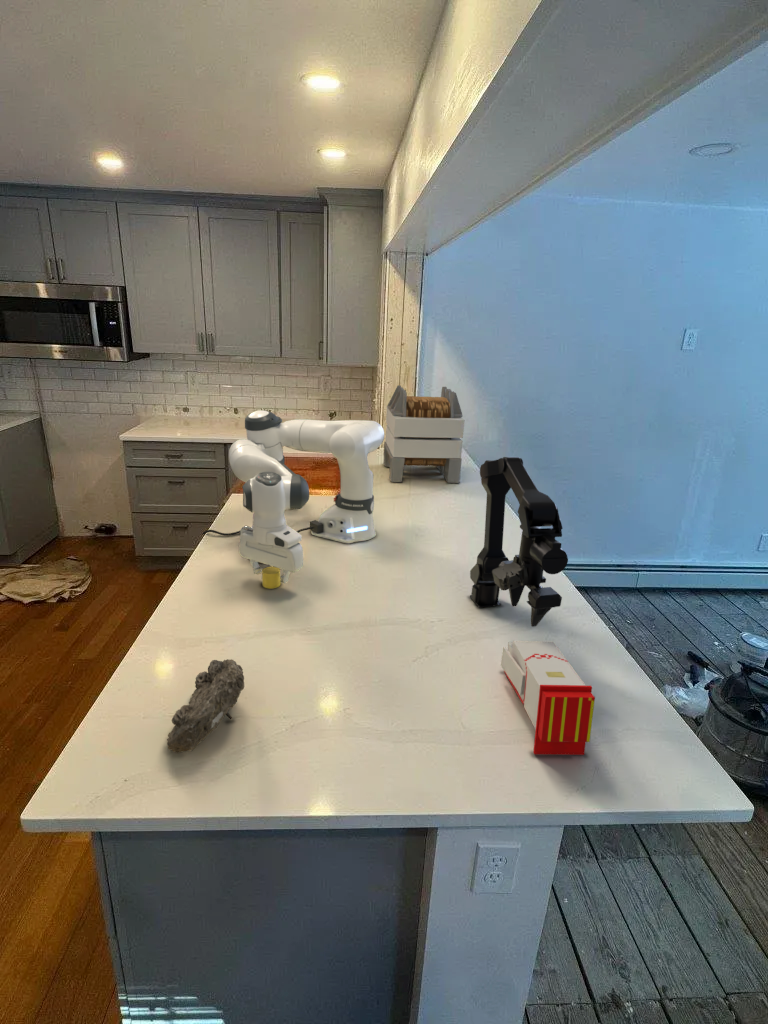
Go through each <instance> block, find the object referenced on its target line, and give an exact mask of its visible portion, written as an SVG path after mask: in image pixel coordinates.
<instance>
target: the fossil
mask: <svg viewBox="0 0 768 1024" xmlns="http://www.w3.org/2000/svg"><path fill="white" fill-rule="evenodd" d="M243 670H244V669H243V667H242V665H240V664H237V662H236V661H235V660H234V659H232V658H231V659H227V658H226V659H224V660H223V661H222V660H217V659H212V660H211V661H210V663H209V665H208V666H207V671H201V672H199V673H198V674H197V675H196V676H195V680H194V684H195V685H194V687H195V689H194V690H193V693H192V694H191V697H190V698H189V700H188V704H184V705H182V706H181V707H180V709H177V710H176V711H175V713H174V715H173V716H172V718H171V723H172V724H173V727H172V730H171V731H170V732H168V734H167V738H166V741H167V742H166V745H167V749H168V750H169V751H173V752H174V753H176V754H178V753H182V752H188V751H189V752H192V751H193V750H195V748H196V747H197V746H199V744H200V743H201V742H203V741H204V740H205V739H206V738H207V737H208V736H209V735H210V734H211V733H212V732H214V730H215V729H217V727H218V726H219V724H220V722H221V721H222V720H223V719H224V718H225V716H226V717H227V719H229V720H233V717H232V715H230V714H229V710H230V709H231V708H234V706H235V704H236V703H237V702H238V699H239V697H240V695H241V693H242V691H243V690H245V689H244V688H245V675H244V671H243Z"/></svg>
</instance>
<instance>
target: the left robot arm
mask: <svg viewBox="0 0 768 1024" xmlns="http://www.w3.org/2000/svg"><path fill="white" fill-rule="evenodd" d="M244 429H245V431H246V439H245V438H241V439H238V440H235V441H234V442H233V443H232V444H231V445H230V447H229V450H228V463H229V466H230V469H231V471H232V473H233V474H234V476H235V478H237V479H239V480H240V481H241V482H244V483H243V485H242V487H241V488H242V505H243V508H245V509H246V510H247V511H249V513H252V514H253V513H254V519H253V518H252V525H253V527H252V526H249V525H244V526H242V527H241V528H240V530H238V531H234V532H226V533H225V532H221V531H218V530H213V529H207V530H205V531H203V532H202V533H201V535H206V534H207V533H213V534H217V535H220V536H223V537H225V536H227V537H229V536H235V535H238V534H240V537H239V543H238V554H239V555H240V557H241V558H244V559H247V560H249V563H250V565H251V567H252V569H253V574H255V575H257V576H259V575H262V570H263V568H262V567H261V566H260V564H264V565H267V566H269V567H277V568H279V569H280V570H282V573H283V575H280V583H281V584H282V583H283V584H287V583H288V582H289V576H290V575H291V573H292V574H293V573H294V574H295V573H297V572H298V571H300V570H301V569H302V568H303V567H304V549H303V546H302V544H301V543H300V542H302V539H303V538H302V537H303V536H302V534H301V532H304V531H310V533H311V536H315V537H319V538H323V539H326V540H330V541H336V542H339V543H343V544H352V543H357V542H365V541H368V540H372V539H373V538H375V537H376V535H377V532H376V528H375V523H374V513H373V512H374V509H375V496H374V473H373V471H372V470H371V469H370V466H369V460H368V456H369V454H371V453H373V452H375V451H376V450H377V449H379V448H380V446H382V444H383V443H384V441H385V430H384V428H383V426H382V425H381V424H380V423H379V422H378V421H375V420H363V419H346V420H345V419H344V420H321V419H307V418H306V419H305V418H300V419H299V418H298V419H290V420H286V421H283V419H282V418H281V417H280V416H277V415H276V414H275V413H274V412H272V411H270V410H264V409H260V410H255V411H252V412H250V413H249V414H247V415H246V416H245V418H244ZM283 447H285V448H288V449H292V450H295V451H300V452H308V453H316V454H318V453H319V454H332V455H333V457H334V458H335V459H336V461H337V465H338V468H339V476H340V488H339V489H340V490H339V491H338V492H337V494H336V495H335V496H334V497H333V502H334V504H333V505H331V506H329V507H328V508H326V509H325V510H323V512H321V514H320V515H319V517H318V520H316V519H314V520H310V521H309V527H305V528H301V529H298V530H295V529H293V528H292V527H290V525H288V524H287V519H286V516H285V515H286V514H285V510H301V509H302V508H303V507H304V506H305V505H307V503H308V502H309V500H310V487H309V483H308V482H307V480H306V479H305V478H304V477H303V476H302V475H300V473H297V474H296V473H295V472H294V471H293V470H292V469H290V468H289V467H288V466H287V465H286V463H285V455H284V448H283ZM259 563H260V564H259Z"/></svg>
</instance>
